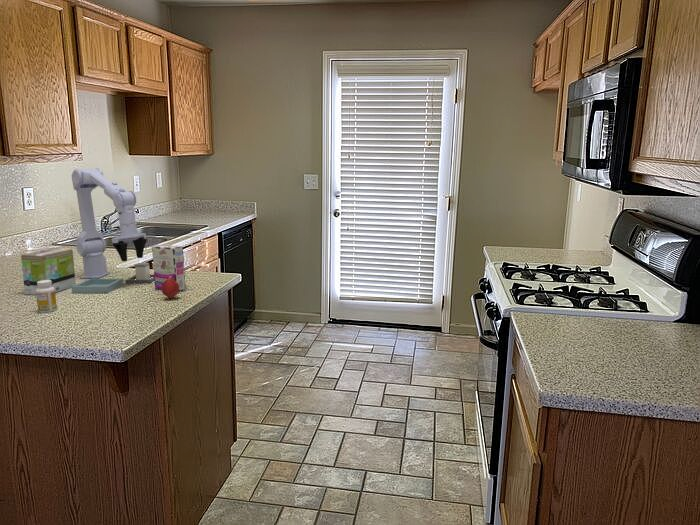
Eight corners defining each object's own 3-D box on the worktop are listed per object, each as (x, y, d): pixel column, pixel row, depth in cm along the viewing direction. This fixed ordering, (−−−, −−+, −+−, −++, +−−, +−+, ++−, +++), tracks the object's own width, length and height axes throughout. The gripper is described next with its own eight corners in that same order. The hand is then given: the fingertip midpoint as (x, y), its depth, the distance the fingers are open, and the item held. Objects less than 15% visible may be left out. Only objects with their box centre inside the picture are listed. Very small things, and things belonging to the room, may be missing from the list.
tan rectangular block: (140, 279, 219) (139, 262, 217) (150, 279, 218) (149, 262, 217) (136, 282, 215) (134, 264, 213) (146, 282, 215) (144, 264, 213)
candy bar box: (186, 289, 202) (183, 246, 199) (176, 292, 198) (173, 248, 194) (164, 286, 207) (161, 244, 204) (154, 289, 203) (151, 246, 199)
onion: (162, 301, 186) (160, 278, 184) (162, 297, 191) (161, 275, 190) (179, 300, 187) (178, 277, 186) (180, 296, 193) (178, 274, 191)
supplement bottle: (52, 307, 180) (49, 278, 178) (60, 310, 176) (56, 280, 174) (35, 310, 176) (31, 281, 174) (42, 313, 172) (38, 284, 170)
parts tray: (90, 285, 210) (89, 278, 210) (123, 285, 210) (122, 278, 209) (72, 293, 198) (71, 286, 197) (107, 293, 197) (106, 286, 197)
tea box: (48, 296, 195) (43, 255, 192) (24, 294, 197) (19, 254, 194) (77, 286, 209) (73, 248, 206) (54, 285, 211) (49, 247, 208)
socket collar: (136, 278, 222) (136, 274, 221) (160, 278, 221) (160, 274, 221) (125, 283, 212) (125, 280, 212) (150, 283, 212) (150, 280, 211)
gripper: (120, 225, 197) (124, 262, 199) (150, 221, 210) (154, 256, 212) (106, 226, 200) (111, 262, 202) (136, 222, 213) (141, 256, 215)
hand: (132, 259), depth 207 cm, fingers open, 7 cm apart
